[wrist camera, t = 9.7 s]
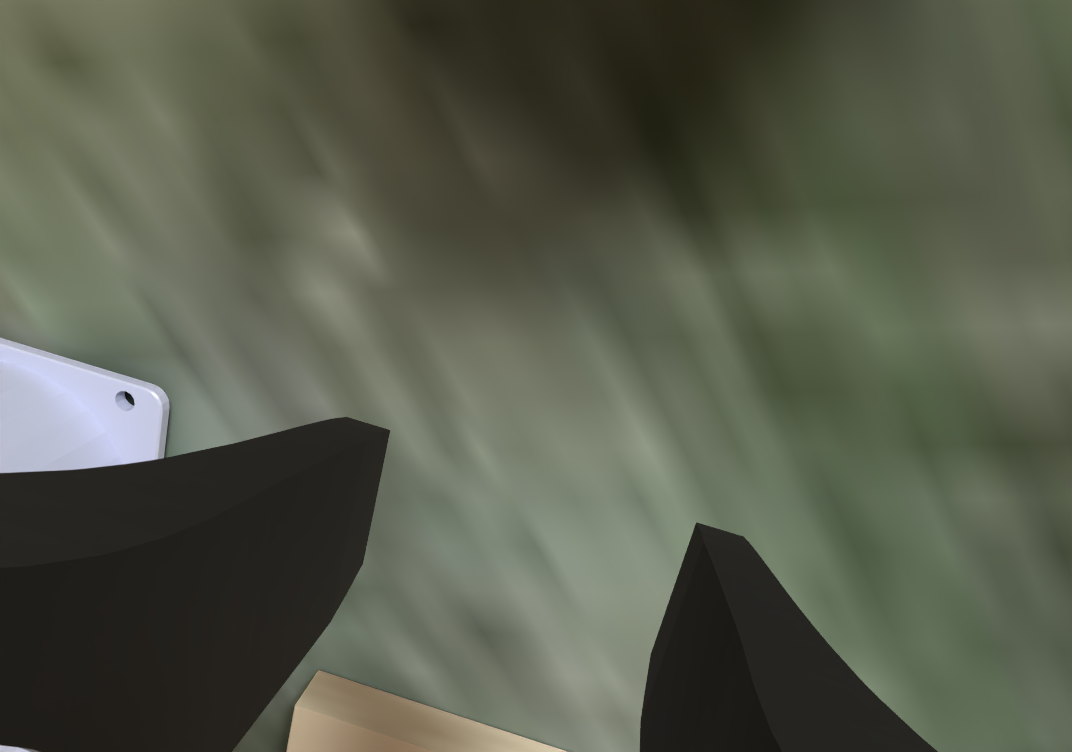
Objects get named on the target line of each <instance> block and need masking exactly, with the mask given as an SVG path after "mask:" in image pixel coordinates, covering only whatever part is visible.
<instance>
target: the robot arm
mask: <svg viewBox="0 0 1072 752" xmlns="http://www.w3.org/2000/svg"><path fill="white" fill-rule="evenodd" d="M125 391H126V392H128V393H130V394H131V395H132V397H133V398H134V403H135V405H134V406H133V405H131V404H130V403H128V401H127V400H126V398H125ZM169 408H170V407H169V400H168V397H167V395H166V393H165V392H164V391H163V390H162V389H161V388H160V387H158V386H156V385H154V384H151V383H148V382H144V381H141V380H138V379H135V378H131V377H128V376H125V375H121V374H118V373H115V372H111V371H108V370H105V369H102V368H98V367H95V366H92V365H88V364H85V363H82V362H79V361H75V360H72V359H69V358H65V357H62V356H59V355H56V354H52V353H49V352H46V351H42V350H39V349H36V348H33V347H29V346H26V345H23V344H19V343H16V342H13V341H9V340H6V339H3V338H0V752H232V751H233V750H234V748H235V747H236V745H237V744H238V743H239V742H240V740H241V739H242V738H243V736H244V735H245V734H246V732H247V731H248V730H249V728H250V727H251V726H252V725H253V723H254V722H255V721H256V719H257V718H258V717H259V715H260V714H261V713H262V711H263V710H264V709H265V708H266V706H267V705H268V704H269V702H270V701H271V700H272V698H273V697H274V696H275V694H276V693H277V692H278V691H279V689H280V688H281V687H282V685H283V684H284V683H285V681H286V680H287V679H288V678H289V676H290V675H291V674H292V672H293V671H294V670H295V668H296V667H297V666H298V664H299V663H300V662H301V660H302V659H303V658H304V656H305V655H306V654H307V652H308V651H309V650H310V648H311V647H312V646H313V645H314V643H315V642H316V641H317V639H318V638H319V637H320V635H321V634H322V632H323V631H324V630H325V628H326V627H327V626H328V624H329V623H330V622H331V620H332V618H333V616H334V615H335V613H336V611H337V609H338V608H339V606H340V604H341V602H342V601H343V599H344V597H345V595H346V594H347V592H348V590H349V588H350V586H351V584H352V583H353V581H354V579H355V577H356V575H357V573H358V571H359V570H360V568H361V566H362V564H363V560H364V555H365V551H366V546H367V541H368V536H369V531H370V526H371V521H372V516H373V512H374V507H375V502H376V497H377V492H378V487H379V482H380V477H381V472H382V468H383V463H384V458H385V453H386V448H387V443H388V438H389V433H390V430H388V429H384V428H381V427H378V426H374V425H371V424H368V423H365V422H361V421H358V420H355V419H351V418H348V417H343V418H335V419H329V420H325V421H320V422H316V423H312V424H308V425H304V426H300V427H296V428H292V429H289V430H285V431H281V432H277V433H273V434H269V435H265V436H262V437H258V438H254V439H250V440H246V441H242V442H238V443H234V444H229V445H225V446H220V447H215V448H210V449H206V450H201V451H196V452H192V453H187V454H182V455H177V456H173V457H168V458H164V452H165V444H166V435H167V426H168V417H169ZM640 752H937V751H936V750H935V749H934V748H933V747H932V746H930V745H929V744H928V743H927V742H926V741H925V740H923V739H922V738H921V737H920V736H919V735H918V734H917V733H916V732H915V731H913V730H912V729H911V728H910V727H909V726H908V725H907V724H906V723H905V722H904V721H903V720H902V719H901V718H900V717H898V716H897V715H896V714H895V713H894V712H893V711H892V710H891V709H890V708H889V707H888V706H887V705H886V704H885V703H883V702H882V701H881V700H880V699H879V698H878V697H877V696H876V695H875V694H874V693H873V692H872V691H871V690H870V689H869V688H868V687H867V686H866V685H865V684H864V683H863V682H862V681H861V680H860V678H859V677H858V676H857V675H856V674H855V673H854V672H853V671H852V670H851V669H850V667H849V666H848V665H847V664H846V663H845V662H844V661H843V660H842V659H841V657H840V656H839V655H838V654H837V653H836V652H835V651H834V650H833V649H832V647H831V646H830V645H829V644H828V643H827V642H826V641H825V639H824V638H823V637H822V636H821V635H820V633H819V632H818V631H817V630H816V629H815V627H814V626H813V625H812V624H811V622H810V621H809V620H808V619H807V618H806V616H805V615H804V614H803V612H802V611H801V610H800V609H799V607H798V606H797V605H796V604H795V602H794V601H793V600H792V598H791V597H790V596H789V594H788V593H787V592H786V591H785V589H784V588H783V587H782V585H781V584H780V583H779V581H778V580H777V579H776V577H775V576H774V574H773V573H772V572H771V570H770V569H769V568H768V566H767V565H766V564H765V562H764V561H763V560H762V558H761V557H760V556H759V554H758V553H757V552H756V551H755V549H754V548H753V547H752V546H751V544H750V543H749V542H748V541H747V540H746V539H745V538H744V537H743V536H740V535H736V534H733V533H730V532H726V531H723V530H720V529H716V528H713V527H710V526H706V525H703V524H700V523H696V525H695V528H694V531H693V534H692V537H691V539H690V542H689V545H688V548H687V551H686V554H685V557H684V560H683V563H682V566H681V568H680V571H679V574H678V577H677V580H676V583H675V586H674V589H673V592H672V595H671V597H670V600H669V603H668V606H667V609H666V612H665V615H664V618H663V621H662V624H661V626H660V629H659V632H658V635H657V638H656V641H655V644H654V647H653V650H652V653H651V657H650V663H649V669H648V676H647V682H646V688H645V695H644V702H643V709H642V716H641V728H640Z"/></svg>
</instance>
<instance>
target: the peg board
mask: <svg viewBox="0 0 1072 752" xmlns="http://www.w3.org/2000/svg"><path fill="white" fill-rule="evenodd" d="M286 752H567V751H564V750H561V749H558V748H555V747H552V746H549V745H546V744H542V743H539V742H536V741H533V740H530V739H527V738H524V737H521V736H518V735H515V734H512V733H509V732H506V731H503V730H500V729H497V728H494V727H491V726H488V725H485V724H482V723H479V722H475V721H472V720H469V719H466V718H463V717H460V716H457V715H454V714H451V713H448V712H445V711H442V710H439V709H436V708H433V707H430V706H427V705H424V704H421V703H418V702H415V701H411V700H408V699H405V698H402V697H399V696H396V695H393V694H390V693H387V692H384V691H381V690H378V689H375V688H372V687H369V686H366V685H363V684H360V683H357V682H354V681H351V680H347V679H344V678H341V677H338V676H335V675H332V674H329V673H326V672H323V671H320V670H318V671H317V673H316V674H315V676H314V677H313V679H312V680H311V682H310V683H309V685H308V686H307V688H306V689H305V691H304V692H303V694H302V695H301V697H300V698H299V700H298V701H297V703H296V705H295V708H294V714H293V719H292V724H291V730H290V735H289V741H288V746H287V751H286Z"/></svg>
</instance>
